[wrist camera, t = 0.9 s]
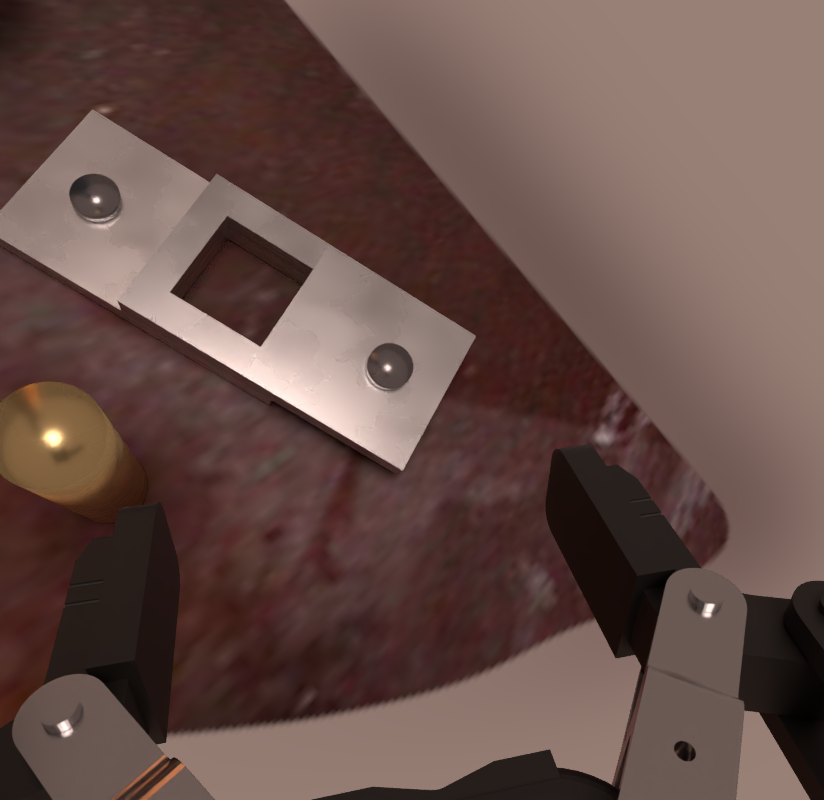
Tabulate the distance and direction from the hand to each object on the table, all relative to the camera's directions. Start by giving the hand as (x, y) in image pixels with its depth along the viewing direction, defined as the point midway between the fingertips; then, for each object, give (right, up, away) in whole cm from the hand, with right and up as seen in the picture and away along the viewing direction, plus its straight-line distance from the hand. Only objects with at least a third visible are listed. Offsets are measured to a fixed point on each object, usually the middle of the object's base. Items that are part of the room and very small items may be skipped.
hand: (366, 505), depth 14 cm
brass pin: (-13, -2, +17) cm, 21 cm away
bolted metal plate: (-8, +7, +21) cm, 23 cm away
